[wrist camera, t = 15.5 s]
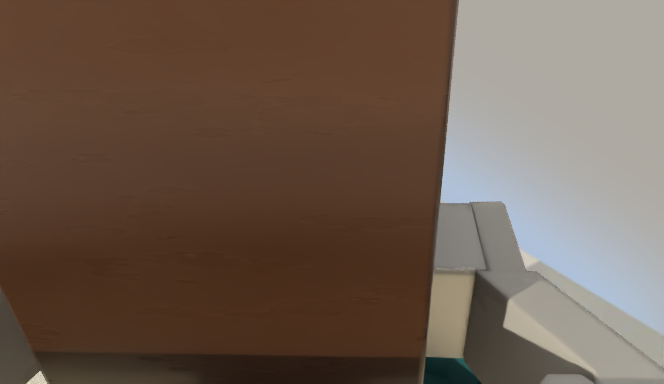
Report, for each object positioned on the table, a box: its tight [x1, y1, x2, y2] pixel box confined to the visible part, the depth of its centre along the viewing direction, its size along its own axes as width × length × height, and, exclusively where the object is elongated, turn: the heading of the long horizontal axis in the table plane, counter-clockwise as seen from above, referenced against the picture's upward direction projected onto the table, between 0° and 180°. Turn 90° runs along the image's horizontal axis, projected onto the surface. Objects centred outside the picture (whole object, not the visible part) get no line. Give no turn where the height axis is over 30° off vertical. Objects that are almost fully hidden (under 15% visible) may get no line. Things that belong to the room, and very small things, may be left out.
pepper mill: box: [0, 0, 459, 384], centre depth 10 cm, size 5×5×16 cm
